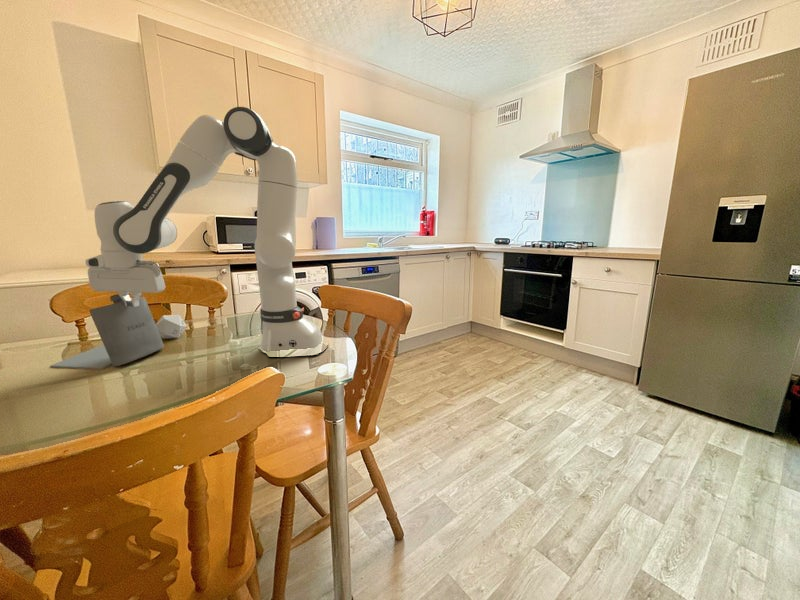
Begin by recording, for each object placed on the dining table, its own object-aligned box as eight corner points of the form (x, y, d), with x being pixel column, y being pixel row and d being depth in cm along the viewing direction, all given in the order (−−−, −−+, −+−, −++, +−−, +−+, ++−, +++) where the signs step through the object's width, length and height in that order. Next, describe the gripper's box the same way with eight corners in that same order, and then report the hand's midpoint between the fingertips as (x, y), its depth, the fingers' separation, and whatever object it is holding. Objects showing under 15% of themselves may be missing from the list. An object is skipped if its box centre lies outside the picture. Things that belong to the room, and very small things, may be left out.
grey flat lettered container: (123, 365, 92) (94, 299, 88) (109, 367, 94) (80, 302, 90) (170, 345, 106) (147, 287, 102) (157, 347, 108) (134, 291, 104)
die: (168, 345, 112) (184, 320, 114) (143, 332, 111) (161, 307, 113) (179, 344, 120) (195, 321, 122) (157, 333, 119) (173, 309, 121)
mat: (147, 347, 108) (147, 346, 108) (102, 369, 93) (102, 367, 92) (102, 345, 109) (102, 344, 109) (50, 367, 93) (50, 365, 93)
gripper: (166, 259, 95) (173, 304, 98) (100, 257, 96) (110, 302, 99) (149, 262, 89) (157, 310, 92) (79, 260, 90) (90, 307, 93)
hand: (132, 306), depth 96 cm, fingers closed
